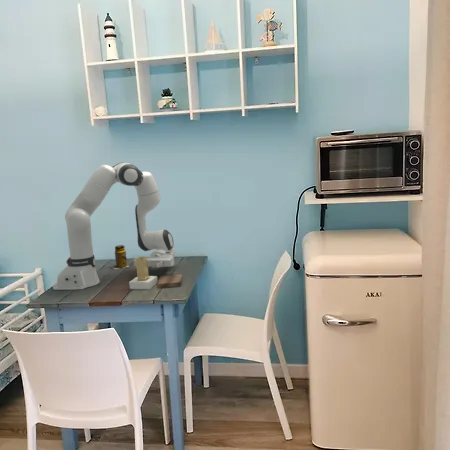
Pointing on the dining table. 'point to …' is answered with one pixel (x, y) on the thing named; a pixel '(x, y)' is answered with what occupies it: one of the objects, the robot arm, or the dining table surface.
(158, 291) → the dining table surface
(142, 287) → the socket block
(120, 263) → the condiment
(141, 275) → the peg
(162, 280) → the board
